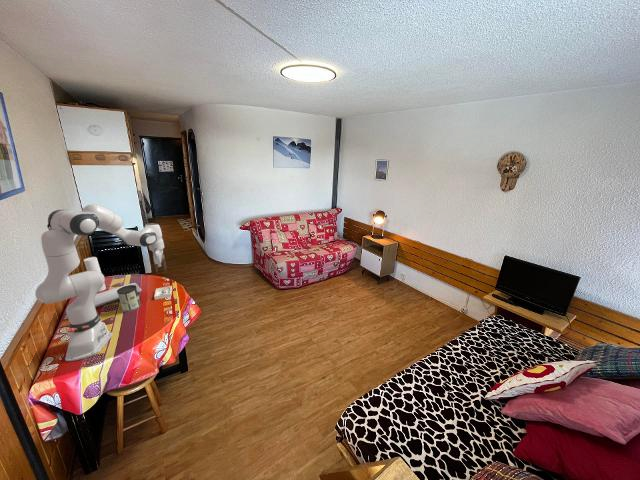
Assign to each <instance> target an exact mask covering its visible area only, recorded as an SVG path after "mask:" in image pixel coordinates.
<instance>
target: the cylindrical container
mask: <svg viewBox="0 0 640 480" xmlns="http://www.w3.org/2000/svg"><path fill="white" fill-rule="evenodd" d="M83 262H84V265H85V269H86V271H93V270H97V271H99V272H101V273H102V271H101V267H100V264H99V261H98V258H97V257H96V256H91V257H90V256H89V257H87V258H83ZM106 288H107V287H106V283H105V282H104V285H103V286H102V287H101V288H100V289H99V290H98V292H97V293H101V292H104V290H105V291H106Z"/></svg>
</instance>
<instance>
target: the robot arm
mask: <svg viewBox="0 0 640 480" xmlns="http://www.w3.org/2000/svg"><path fill="white" fill-rule="evenodd" d="M123 225H124V221H123V218H122V216H120V215H119V214H117V213H115V212H114V211H112V210H110V209H108V208H105V207H104V206H101V205H97V204H94V203H91V204H87V205H86V206H84V207H83V208H82V210H81V211H76V210H68V209H56V210H53V211H52V212H50V214H49V215H48V217H47V225H46V227H47V229H48V230H46V231H45V232H43V233H42V234H41V238H40V239H41V245H42V246H41V247H42V252H43V255H44V257H45V261H46V264H47V269H48V271H47V275H46V277H45V279H44V280H43V281H42V282H41V283H40V284H39V285H38V286H37V287H36V289H35V293H34V294H35V298H36V300H38V301H39V302H40V303H43V304H46V305H47V304H49V305H50V304H54V303H59V302H63V301H65V300H68V299H73V298H75V299H74V300H73V301H72V302H71V303H69V304H68V305H67V307H66V308H65V314H66V316H67V318H68V327H69V328H68V330H67V332H68V333H69V338H68V345H67V350H66V354H65V358H64V360H65V362H74V361H75V362H76V361H78V360H79V361H81V360H83V359H87V358H90V357H92V355H93V356H96V355H97V354H99V353H101V351H102V350H103V349H102V348H104V347H105V346H106V345H105V344H107V343H108V342H109V340H110V339H111V338H112V336H113V335H114V334H113V332H110V331H109V330H108V327H107V325H106V324H105V322H104V321H102V320H101V318H100V314H99V312H98V311H97V310H96V309H97V307H95V304H94V299H95V296H96V294H98V293H99V292H98V290H99V289H100V288H101V287H102V286H103V285H104V283H105V282H106V278H105V275H104V274H103V273H102V271H101V272H99V271H97V270H93V271H87V270H86V271H81V272H79V273H75V274H70V273H72V272H73V271H74V270H76V269H77V268H78V267H79V266H80V263H81V261H80V257H79V254H78V253H79V252H78V251H77V248H76V244H75V241H74V239H75V236H76V235H77V236H81V237H83V236H90V235H92V234H93V233H94V232H96V230H97V229H99V230H102V231H104V232H107V233H110V234H111V235H114V236H115V237H117V238H119V239H120V241H122V243H123V244H124V245H126V246H137V247H143V248H146V247H148V248H149V251H151V252H152V258H154V260H153V264H154V263H155V264H158V268H161V267H162V264H163V262H162V255H164V249H165V243H164V239H163V234H162V228H161V227H160V225H159V224H158V223H157V222H155V223H154V222H149V223H145V226H144V227H143V228H142V230H133V229H127V228H125V227H123Z"/></svg>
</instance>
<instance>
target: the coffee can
mask: <svg viewBox="0 0 640 480" xmlns="http://www.w3.org/2000/svg"><path fill="white" fill-rule="evenodd" d="M127 285H128V284H127ZM123 286H124V287H121V286H120V287H121V288H120V289H118V290H117V293H118V296H119V302H120V305H121V309H122V311H123V312H124V313H126V312H130V311H135V310H136V309H138V308H140V306H141V305H142V304H141V303H142V302H141V300H140V297H139V292H137V288H136V286H135V285H128V286H125V285H123Z"/></svg>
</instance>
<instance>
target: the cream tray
mask: <svg viewBox="0 0 640 480" xmlns="http://www.w3.org/2000/svg"><path fill="white" fill-rule="evenodd" d="M162 290H165V291H166V293H165V294H161V291H162ZM172 293H173V286H172V285H169V286H164V287H159V288H155V292H154V296H153V298H154V300H155V301H156V300H161V299H166V298H167V299H168V298H171V297H172Z"/></svg>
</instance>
